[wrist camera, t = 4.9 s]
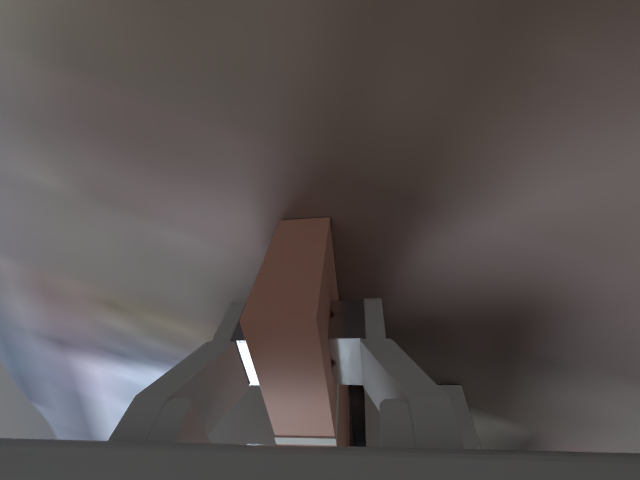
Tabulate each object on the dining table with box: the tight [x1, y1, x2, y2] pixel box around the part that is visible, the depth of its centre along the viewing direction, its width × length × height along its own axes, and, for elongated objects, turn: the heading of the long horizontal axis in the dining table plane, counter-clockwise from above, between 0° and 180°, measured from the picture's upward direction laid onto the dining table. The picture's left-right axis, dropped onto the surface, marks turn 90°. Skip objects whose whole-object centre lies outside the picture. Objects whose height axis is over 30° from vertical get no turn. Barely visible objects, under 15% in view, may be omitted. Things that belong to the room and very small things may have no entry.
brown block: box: [239, 217, 355, 447], centre depth 12 cm, size 2×13×4 cm, turn 6°
